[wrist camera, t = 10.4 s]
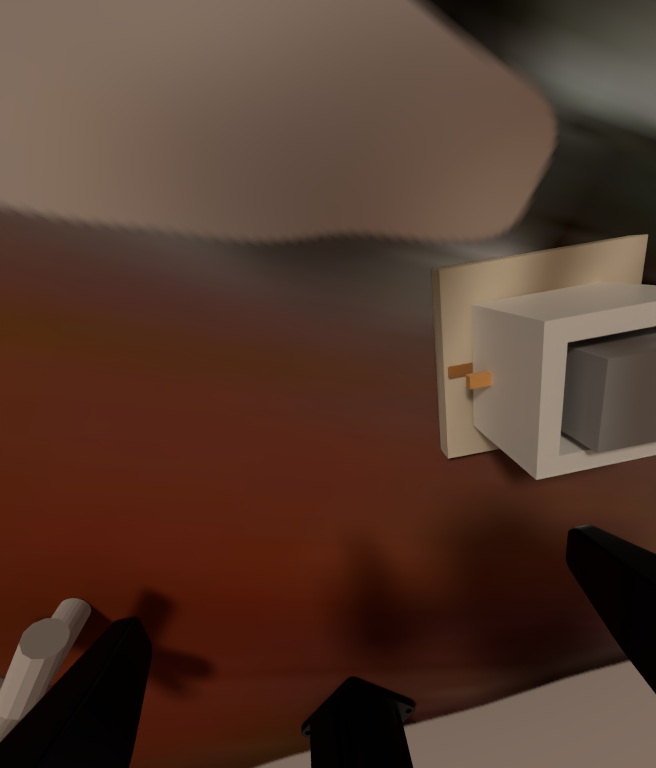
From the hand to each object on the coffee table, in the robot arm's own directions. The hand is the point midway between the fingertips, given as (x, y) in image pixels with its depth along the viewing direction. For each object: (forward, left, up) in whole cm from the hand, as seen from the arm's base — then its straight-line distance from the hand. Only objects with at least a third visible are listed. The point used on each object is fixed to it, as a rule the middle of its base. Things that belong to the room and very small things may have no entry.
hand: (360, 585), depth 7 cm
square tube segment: (-8, -8, -11) cm, 15 cm away
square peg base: (-8, -8, -12) cm, 16 cm away
